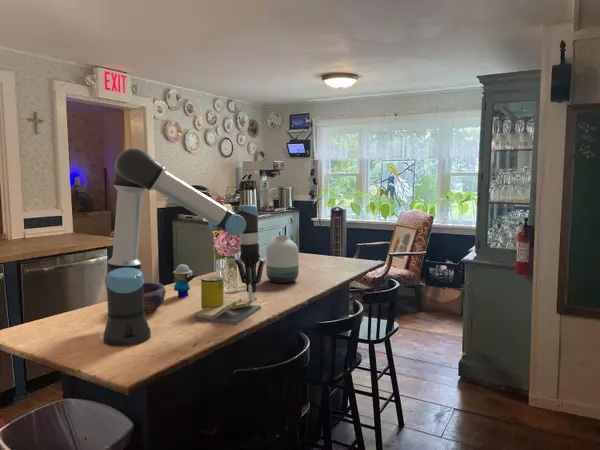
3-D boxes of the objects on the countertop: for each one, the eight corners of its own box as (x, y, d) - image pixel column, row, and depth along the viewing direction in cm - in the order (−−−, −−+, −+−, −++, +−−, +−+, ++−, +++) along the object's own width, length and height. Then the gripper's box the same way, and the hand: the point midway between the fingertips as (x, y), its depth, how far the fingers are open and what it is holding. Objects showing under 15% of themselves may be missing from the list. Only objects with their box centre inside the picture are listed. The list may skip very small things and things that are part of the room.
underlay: (236, 324, 173) (236, 318, 173) (194, 319, 179) (194, 313, 179) (260, 308, 193) (260, 302, 193) (222, 304, 199) (222, 298, 199)
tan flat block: (230, 307, 173) (228, 305, 173) (214, 317, 176) (213, 315, 176) (242, 300, 182) (240, 298, 182) (227, 310, 185) (226, 308, 185)
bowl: (117, 318, 179) (116, 293, 178) (122, 306, 197) (121, 283, 195) (165, 315, 184) (165, 290, 183) (166, 303, 201) (165, 280, 200)
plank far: (246, 306, 184) (245, 303, 184) (229, 309, 187) (228, 306, 187) (257, 299, 194) (256, 297, 194) (240, 303, 196) (240, 300, 196)
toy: (188, 299, 207) (187, 266, 206) (170, 298, 209) (169, 265, 207) (196, 294, 216) (195, 262, 214) (178, 293, 217) (178, 262, 216)
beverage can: (220, 303, 197) (220, 275, 195) (225, 308, 188) (225, 279, 187) (199, 305, 193) (199, 277, 192) (203, 311, 185) (203, 281, 184)
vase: (262, 284, 236) (261, 237, 234) (271, 277, 253) (271, 233, 250) (294, 286, 232) (294, 238, 230) (301, 278, 249) (302, 234, 246)
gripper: (267, 241, 188) (270, 298, 190) (239, 241, 192) (242, 296, 195) (260, 244, 181) (262, 303, 183) (230, 244, 185) (233, 301, 188)
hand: (251, 300), depth 189 cm, fingers closed
